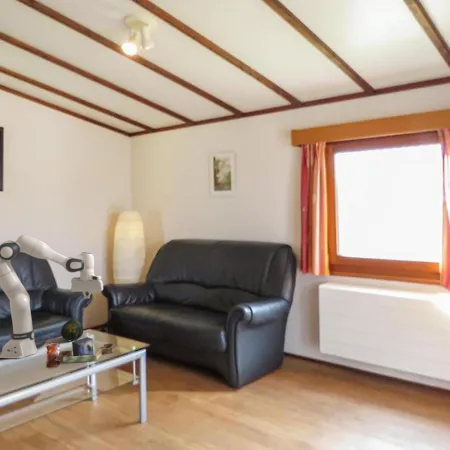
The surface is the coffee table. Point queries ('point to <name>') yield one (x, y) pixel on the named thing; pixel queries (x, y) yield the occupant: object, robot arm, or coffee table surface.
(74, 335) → the squash
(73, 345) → the small box
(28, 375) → the coffee table surface
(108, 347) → the trap lane
